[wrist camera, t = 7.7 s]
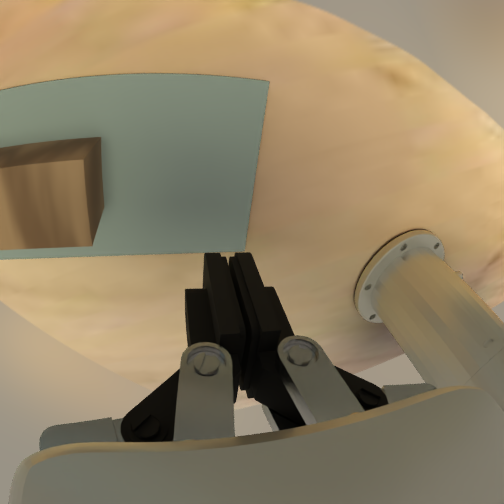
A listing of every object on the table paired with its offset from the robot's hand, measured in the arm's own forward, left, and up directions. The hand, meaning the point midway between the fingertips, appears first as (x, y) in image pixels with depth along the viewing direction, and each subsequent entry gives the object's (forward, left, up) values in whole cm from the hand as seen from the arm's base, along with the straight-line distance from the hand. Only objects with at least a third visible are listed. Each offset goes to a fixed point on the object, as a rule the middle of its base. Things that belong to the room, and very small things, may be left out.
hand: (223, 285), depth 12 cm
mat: (+6, -1, -12) cm, 13 cm away
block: (+6, -1, -9) cm, 11 cm away
